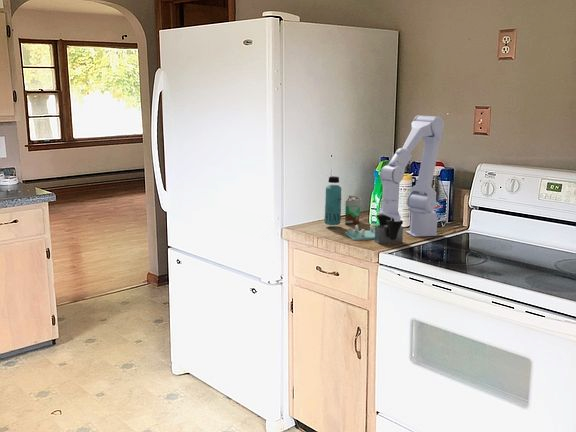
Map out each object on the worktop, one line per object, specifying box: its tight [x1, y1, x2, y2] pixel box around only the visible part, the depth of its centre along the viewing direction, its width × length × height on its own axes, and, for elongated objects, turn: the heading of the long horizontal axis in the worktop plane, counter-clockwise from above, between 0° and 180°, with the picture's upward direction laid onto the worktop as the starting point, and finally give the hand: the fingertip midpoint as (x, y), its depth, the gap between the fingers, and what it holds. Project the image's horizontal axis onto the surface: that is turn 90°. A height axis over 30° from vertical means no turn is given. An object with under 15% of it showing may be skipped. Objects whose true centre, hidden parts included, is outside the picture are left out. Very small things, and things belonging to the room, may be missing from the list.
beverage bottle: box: [323, 175, 342, 226], centre depth 238 cm, size 6×7×20 cm
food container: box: [344, 195, 363, 226], centre depth 248 cm, size 12×6×10 cm, turn 168°
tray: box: [344, 224, 375, 241], centre depth 227 cm, size 14×10×3 cm
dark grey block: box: [374, 224, 404, 245], centre depth 219 cm, size 9×4×6 cm, turn 103°
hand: (388, 236), depth 219 cm, fingers open, 7 cm apart
